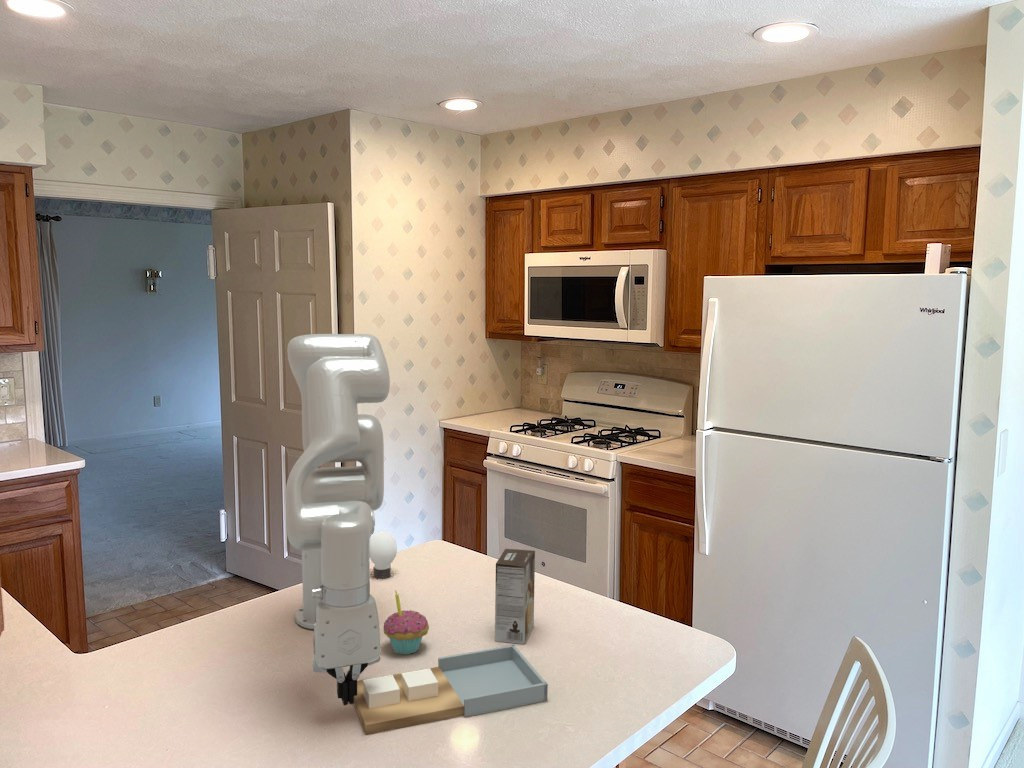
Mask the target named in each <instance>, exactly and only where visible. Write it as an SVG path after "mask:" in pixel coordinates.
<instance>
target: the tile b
mask: <svg viewBox="0 0 1024 768" xmlns="http://www.w3.org/2000/svg"><path fill="white" fill-rule="evenodd" d="M428 668H429V669H428ZM428 668H424V669H423V668H422V669H423V670H422V669H418V670H412V672H411V671H407V672H406V673H405V672H400V673H401V687H402V689H403V691H404V693H405V695H406V697H407V699H408V701H413V700H418V699H424V698H429V697H434V696H438V681H437V679H436V678H435V676H434V674H433V673H432V671H431V669H430V668H431V667H428Z"/></svg>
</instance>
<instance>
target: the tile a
mask: <svg viewBox="0 0 1024 768" xmlns="http://www.w3.org/2000/svg"><path fill="white" fill-rule="evenodd" d="M393 675H394V674H389V675H383V677H382V676H378V677H377V678H376V677H370V678H371V679H370V678H366V679H362V680H363V695H364V697H365V700H366V702H367V704H368V707H369V709H370V708H376V707H381V706H386V705H392V704H397V703H400V689H399V687H398V685H397V683H396V681H395V679H394V677H393Z"/></svg>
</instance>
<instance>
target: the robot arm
mask: <svg viewBox="0 0 1024 768" xmlns="http://www.w3.org/2000/svg"><path fill="white" fill-rule="evenodd" d="M286 349H287V350H286V351H287V361H288V363H289V367H290V370H291V373H292V375H293V377H294V379H295V382H296V384H297V386H298V388H299V392H300V395H301V397H300V398H301V431H302V432H301V433H302V447H303V453H302V454H301V455H300V457H298V459H297V460H296V461H295V463H294V464H293V466H292V468H291V471H290V473H289V475H288V478H287V481H286V485H285V493H284V494H285V495H284V496H285V524H286V525H285V526H286V527H285V528H286V535H287V539H288V541H289V544H290V545H291V546H292V547H293V548H294V549H296V550H298V551H301V572H302V574H301V576H302V578H301V579H302V606H301V607H300V608H299V609H298V610H297V611H296V612H295V614H294V615H295V617H294V619H295V623H296V624H297V625H299V626H300V627H301V628H302V627H303V628H305V629H308V630H313V655H314V659H313V661H312V665H311V666H312V670H313V672H314V673H322V674H325V673H328V675H330V676H331V677H332V678H333V679H335V680H336V695H337V698H338V699H341V701H342V704H343V706H347V705H348V704H350V705H354V696H357V681H358V679H359V680H360V676H361V674H362V673H363V672H364V671H365V670H366V669H367V668H368V667H369V666H372V665H374V664H377V663H379V662H380V661H381V636H380V635H381V633H380V623H379V622H380V621H379V619H380V618H379V613H378V606H377V602H376V601H377V600H376V598H375V597H374V596H373V595H372V594H371V583H370V582H371V580H370V579H371V578H370V577H371V574H370V570H371V569H370V567H371V566H370V564H371V563H370V561H371V559H370V550H369V541H370V539H371V537H372V536H373V535H374V534H375V533H374V532H375V526H376V519H375V518H376V517H375V511H377V510H378V509H379V508H381V506H382V504H383V501H384V495H385V467H384V466H385V464H384V463H385V462H384V461H385V460H384V456H385V453H384V451H385V450H384V449H385V448H384V446H385V444H384V443H385V442H384V432H383V431H384V430H383V427H382V424H381V422H380V420H379V419H378V418H377V417H376V416H374V415H372V414H362V413H360V414H359V411H358V404H377V403H383V402H384V401H386V400H387V398H388V396H389V393H390V388H391V387H390V385H391V381H390V379H391V378H390V371H389V366H388V362H387V359H386V356H385V352H384V351H383V347H382V344H381V342H380V340H379V338H377V337H376V336H375V335H373V334H369V333H340V334H339V333H313V334H303V335H302V334H301V335H298V336H295V337H293V338H292V339H290V340H289V342H288V344H287V348H286ZM350 462H351V463H352V462H358V463H360V464H361V465H354V466H352V465H351V466H331V467H321V466H322V465H325V464H326V463H327V464H331V463H350ZM344 667H348V671H346V673H345V671H344Z"/></svg>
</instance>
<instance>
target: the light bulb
mask: <svg viewBox="0 0 1024 768" xmlns="http://www.w3.org/2000/svg"><path fill="white" fill-rule="evenodd" d="M369 550H370V561H371V562H372V563H373V565H374V566H373V570H372V573H373V577H374V578H376V579H379V580H380V579H383V580H385V579H389V578H391V576H392V575H391V572H392V567H391V565H392V563H393V562H394V560H395V558H396V557H397V551H398V546H397V541H396V538H395V537H394V536H393V534H392V533H390V532H389V531H388V530H387V531H386V530H379V531H377V532H375V533H373V534H372V535H371V538H370V540H369Z"/></svg>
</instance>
